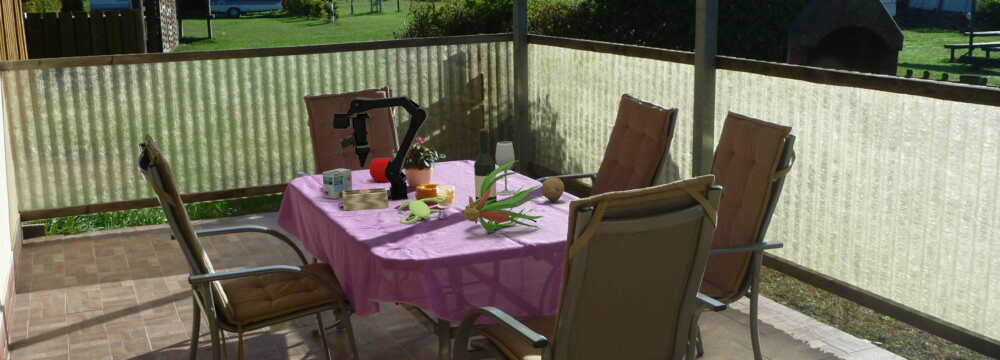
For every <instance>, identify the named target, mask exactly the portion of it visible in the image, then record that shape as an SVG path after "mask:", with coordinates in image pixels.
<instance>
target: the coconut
mask: <svg viewBox="0 0 1000 360" xmlns="http://www.w3.org/2000/svg"><path fill="white" fill-rule="evenodd" d="M540 190H541V194H542V197H545V198H546V199H547V200H548V201H550V202H551V203H555V202H557V201H558V200H560V199H561V197H562V195H563V194H564V191H565V184H564V182H563V181H562V180H561V179H560V178H559V177H556V176H550V177H547V178H546V179H545V181H543V183H542V185H541V189H540Z"/></svg>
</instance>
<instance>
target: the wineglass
mask: <svg viewBox="0 0 1000 360" xmlns="http://www.w3.org/2000/svg"><path fill="white" fill-rule="evenodd" d="M513 145H514V144H513V141H498V142H497V143H496V149H495V164H496V166H497V167H500V166H502V165H505V164H507V163H510V162H513V161H515V151H514V147H513ZM509 158H510V159H509ZM503 161H504V162H503ZM500 163H501V164H500ZM498 164H499V165H498ZM514 165H515V162H513V163H512V164H510V165H508V166H506V167H505V168H509V169H506V170H504V171H503V172H504V173H503V174H505V173H506V172H507V173H508V172H509V170H510V169H511V168H512V167H513V166H514ZM503 169H504V168H503ZM505 177H508V176H505ZM514 193H516V192H515V191H511V190H508V180H507V178H504V190H503V191H499V192H496V195H499V196H512V195H511V194H513V195H514Z"/></svg>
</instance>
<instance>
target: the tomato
mask: <svg viewBox="0 0 1000 360" xmlns="http://www.w3.org/2000/svg"><path fill="white" fill-rule="evenodd" d="M391 158H392V157H389V156H382V155H381V157H379V156H378V157H376V158H374V159H372V161H371V162H370V163H369V164H370V165H369V174H370V177H371V178H372V179H373V180H374V181H376V182H381V183H383V182H385V183H386V182H390V181H389V180H388V179H387V178H386V176H385V171H386V170H384V169H385V168H386V167H387V164H388V161H389V160H390V159H391ZM392 159H393V160H394V158H392Z"/></svg>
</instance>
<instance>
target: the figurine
mask: <svg viewBox="0 0 1000 360" xmlns="http://www.w3.org/2000/svg"><path fill="white" fill-rule="evenodd" d="M446 199H447V198H446V197H442V196H441V197H440V196H435V197H429V198H428V197H427V198H422V199H418V200H417V199H416V200H415V199H414V200H412V201H410V202H409V201H408V200H404V201H403V202H402V203H401V204H400V206H399V207H398V208H397V212H401V211H402V210H403V209H404V208H406V207H408V209H409V211H410V212H409V213H407V214H406V216H405V218H406V220H407V221H404V220H403V217H402V216H400V217H399V222H400V223H401V224H402V223H403V225H411V224H413V223H415V222H416V221H421V220H424V219H425V220H428V219H429V216H430V215H431V213H438V215H437V218H439V219H441V220H446V219H447V218H448V216H449V214H448V213H447V212H446V211H445V210H441V209H430V207H429V206H428V204H427V203H426V202H435V203H439V204H442V203H445V202H446Z"/></svg>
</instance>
